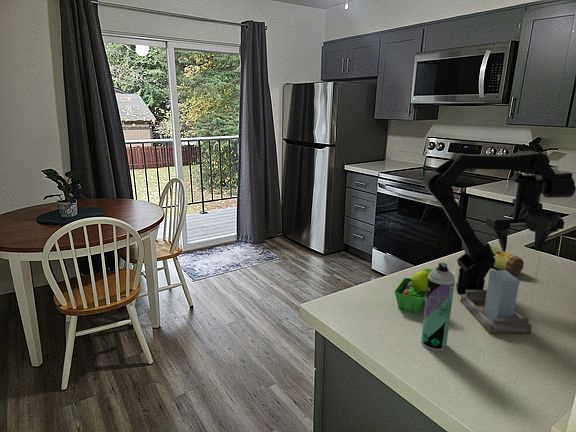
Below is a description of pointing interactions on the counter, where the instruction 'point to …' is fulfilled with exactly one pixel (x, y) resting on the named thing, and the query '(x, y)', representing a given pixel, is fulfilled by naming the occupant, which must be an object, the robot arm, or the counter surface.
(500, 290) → the blue-grey rectangular block
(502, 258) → the sauce bottle
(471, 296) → the shallow grey tray
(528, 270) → the counter surface
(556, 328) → the counter surface
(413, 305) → the fruit basket
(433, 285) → the spray can
